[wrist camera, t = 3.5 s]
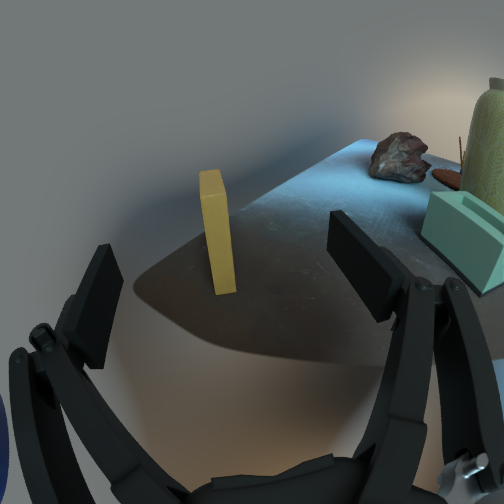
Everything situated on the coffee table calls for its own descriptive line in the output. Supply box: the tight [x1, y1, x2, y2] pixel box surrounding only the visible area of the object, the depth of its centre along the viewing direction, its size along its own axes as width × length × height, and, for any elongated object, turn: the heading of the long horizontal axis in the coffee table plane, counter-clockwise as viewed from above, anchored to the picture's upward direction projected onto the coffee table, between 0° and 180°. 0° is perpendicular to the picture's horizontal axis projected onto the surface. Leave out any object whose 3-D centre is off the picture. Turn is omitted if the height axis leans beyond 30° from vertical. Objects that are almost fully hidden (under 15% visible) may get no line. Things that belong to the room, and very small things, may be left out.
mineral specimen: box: [369, 132, 431, 183], centre depth 49 cm, size 12×13×15 cm
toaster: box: [420, 191, 504, 297], centre depth 26 cm, size 14×9×7 cm, turn 11°
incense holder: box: [432, 137, 466, 191], centre depth 53 cm, size 21×30×11 cm
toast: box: [199, 169, 237, 295], centre depth 26 cm, size 7×2×10 cm, turn 11°
